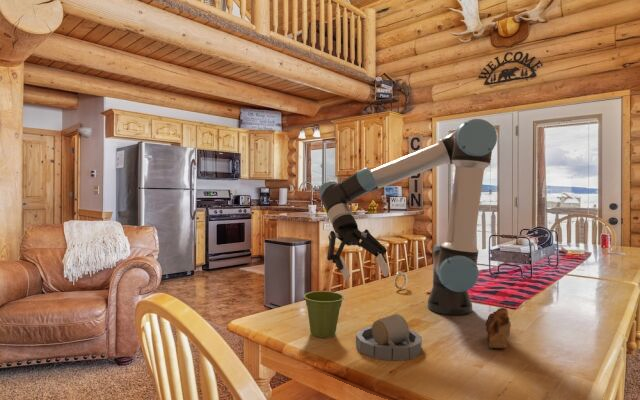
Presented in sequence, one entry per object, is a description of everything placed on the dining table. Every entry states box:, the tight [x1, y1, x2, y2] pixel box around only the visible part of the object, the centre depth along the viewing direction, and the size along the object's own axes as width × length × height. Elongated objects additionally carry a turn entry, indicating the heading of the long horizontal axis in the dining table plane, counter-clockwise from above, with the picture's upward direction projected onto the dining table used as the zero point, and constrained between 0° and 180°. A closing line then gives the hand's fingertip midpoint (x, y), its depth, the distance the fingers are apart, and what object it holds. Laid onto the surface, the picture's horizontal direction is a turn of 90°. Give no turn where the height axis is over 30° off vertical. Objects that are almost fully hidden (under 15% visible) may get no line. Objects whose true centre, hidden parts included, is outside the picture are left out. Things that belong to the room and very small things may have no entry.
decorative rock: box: [484, 307, 512, 349], centre depth 110 cm, size 12×6×11 cm, turn 160°
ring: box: [393, 270, 408, 291], centre depth 170 cm, size 7×3×8 cm, turn 120°
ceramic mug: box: [371, 313, 410, 346], centre depth 106 cm, size 10×8×7 cm
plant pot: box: [303, 290, 345, 339], centre depth 117 cm, size 12×12×11 cm
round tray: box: [355, 325, 423, 362], centre depth 108 cm, size 17×17×3 cm
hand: (367, 276), depth 117 cm, fingers open, 13 cm apart
